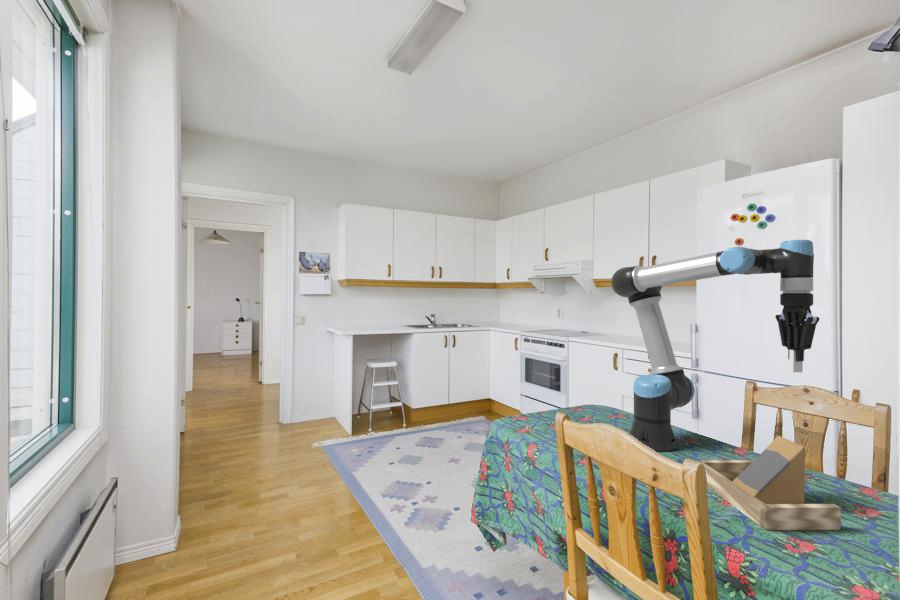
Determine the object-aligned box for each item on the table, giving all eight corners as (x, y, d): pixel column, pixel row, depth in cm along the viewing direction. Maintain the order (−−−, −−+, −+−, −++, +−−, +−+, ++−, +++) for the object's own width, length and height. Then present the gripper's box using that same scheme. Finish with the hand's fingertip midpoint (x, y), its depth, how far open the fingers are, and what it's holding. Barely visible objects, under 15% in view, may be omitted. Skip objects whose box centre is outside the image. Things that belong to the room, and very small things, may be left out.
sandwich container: (720, 490, 111) (720, 435, 111) (777, 490, 111) (778, 434, 111) (743, 506, 102) (743, 446, 102) (805, 506, 102) (805, 446, 102)
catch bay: (753, 477, 118) (753, 460, 118) (840, 529, 92) (840, 507, 92) (695, 477, 118) (695, 460, 118) (765, 530, 92) (766, 507, 92)
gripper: (829, 292, 116) (828, 376, 116) (790, 292, 129) (790, 367, 129) (802, 292, 116) (801, 376, 116) (766, 292, 129) (766, 367, 129)
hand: (795, 371), depth 123 cm, fingers closed
